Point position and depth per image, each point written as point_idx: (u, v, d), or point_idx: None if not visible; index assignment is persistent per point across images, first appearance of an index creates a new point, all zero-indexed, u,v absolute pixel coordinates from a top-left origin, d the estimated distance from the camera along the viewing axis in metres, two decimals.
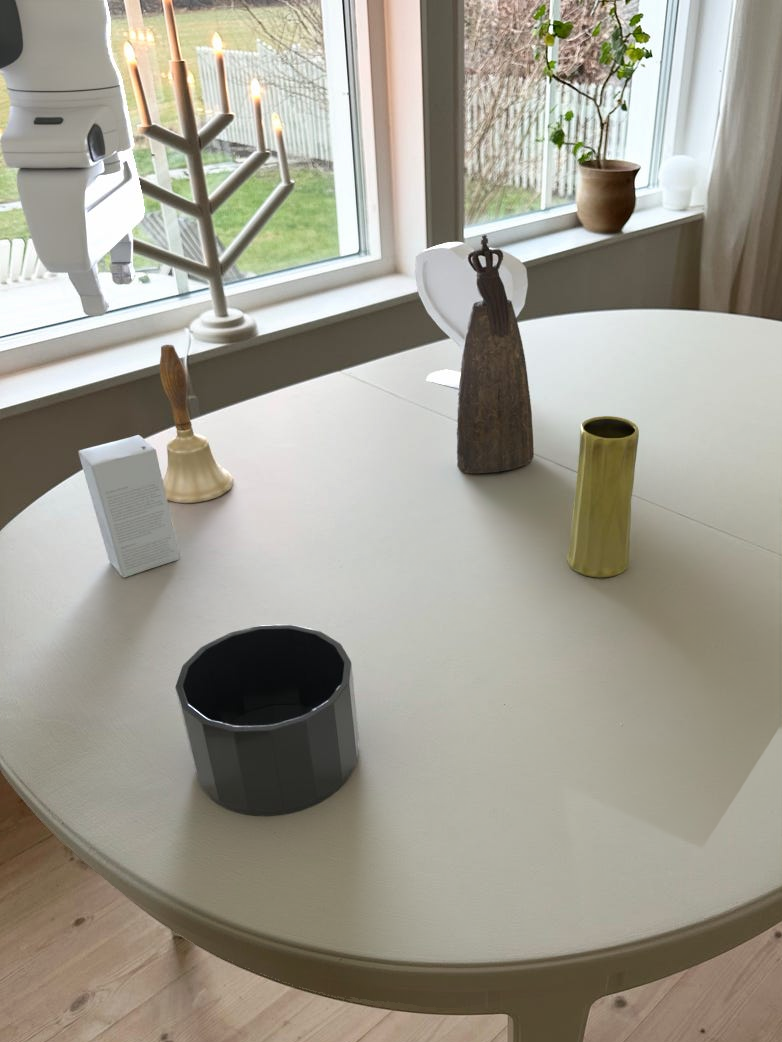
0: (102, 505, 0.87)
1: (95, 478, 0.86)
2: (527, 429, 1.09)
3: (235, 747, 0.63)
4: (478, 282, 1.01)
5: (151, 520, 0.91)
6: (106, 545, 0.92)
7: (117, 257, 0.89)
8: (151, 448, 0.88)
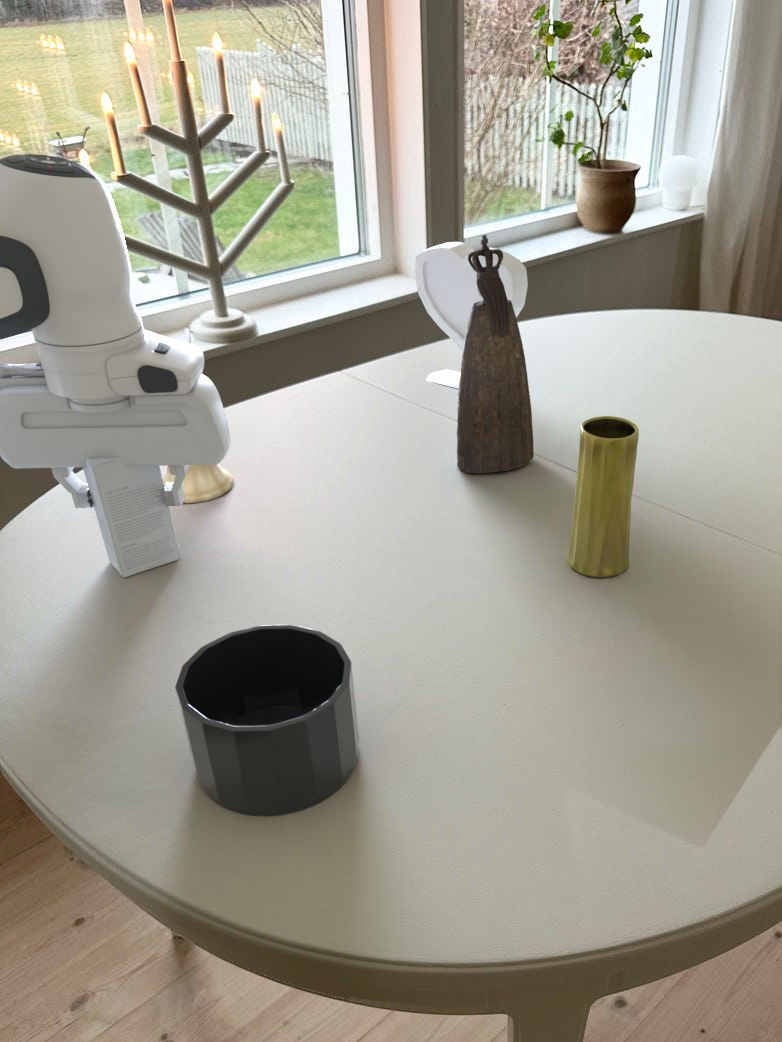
0: (102, 505, 0.87)
1: (95, 478, 0.86)
2: (527, 429, 1.09)
3: (235, 747, 0.63)
4: (478, 282, 1.01)
5: (152, 520, 0.91)
6: (106, 545, 0.92)
7: (76, 486, 0.89)
8: None
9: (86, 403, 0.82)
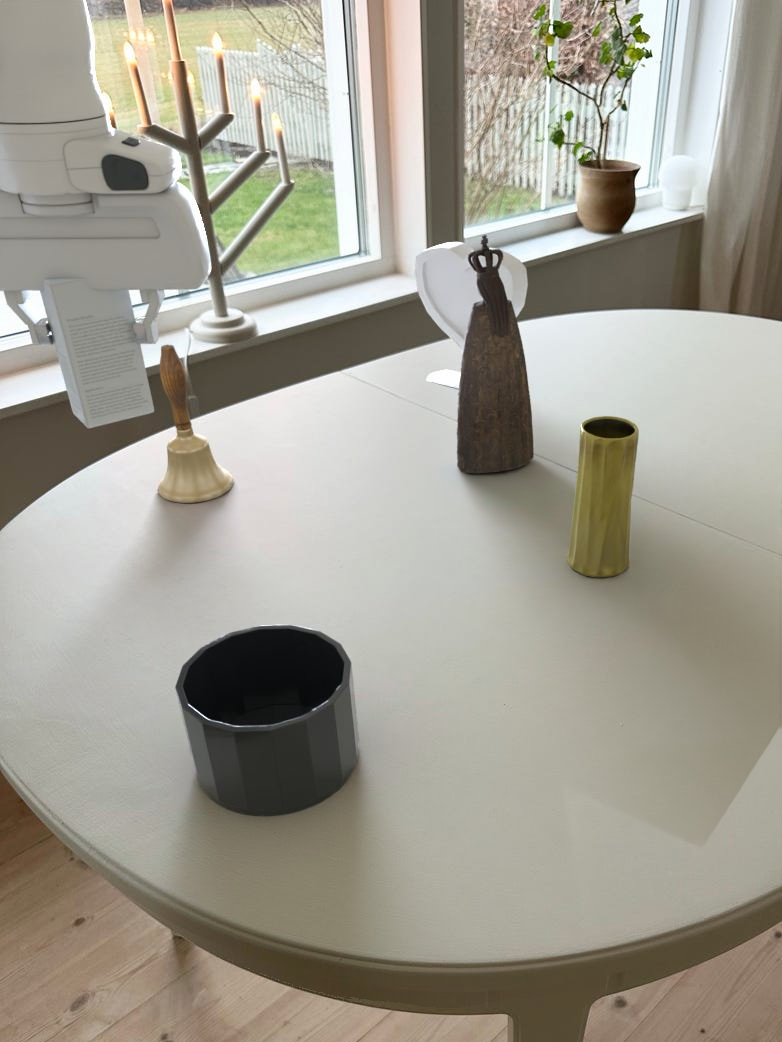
0: (63, 336, 0.76)
1: (54, 300, 0.74)
2: (527, 429, 1.09)
3: (235, 747, 0.63)
4: (478, 282, 1.01)
5: (121, 360, 0.79)
6: (69, 392, 0.81)
7: (33, 317, 0.78)
8: None
9: (42, 203, 0.70)
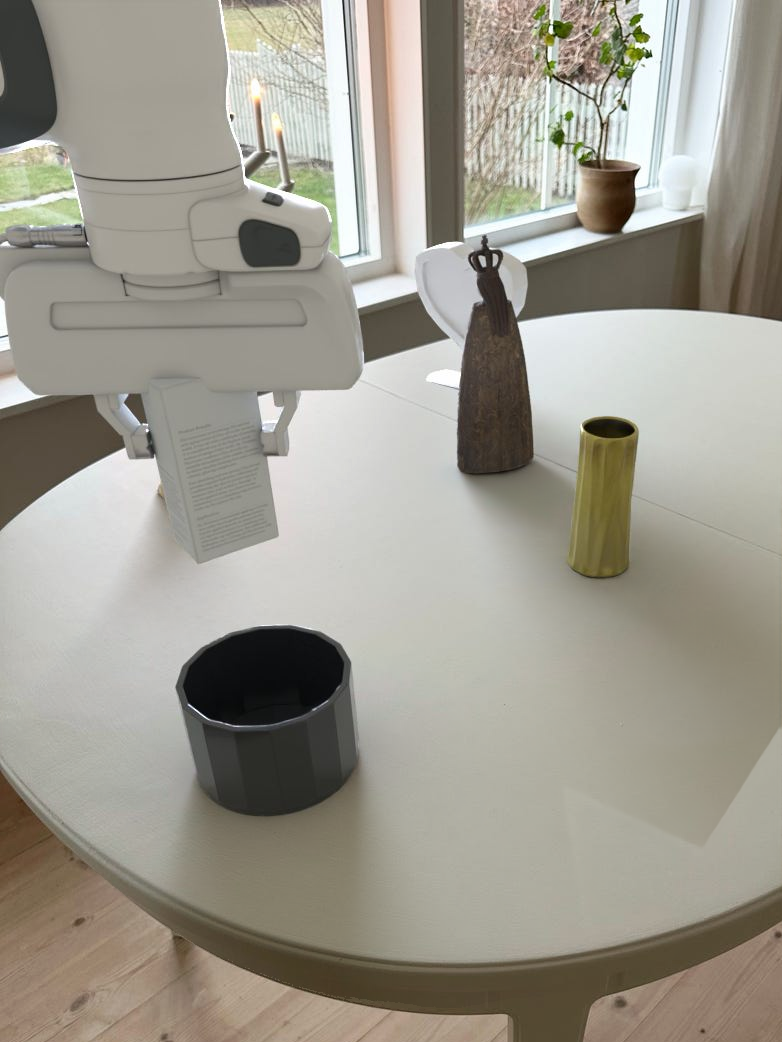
0: (172, 452, 0.57)
1: (163, 408, 0.55)
2: (527, 429, 1.09)
3: (235, 747, 0.63)
4: (478, 282, 1.01)
5: (242, 477, 0.61)
6: (172, 516, 0.62)
7: (130, 425, 0.59)
8: None
9: (154, 285, 0.52)
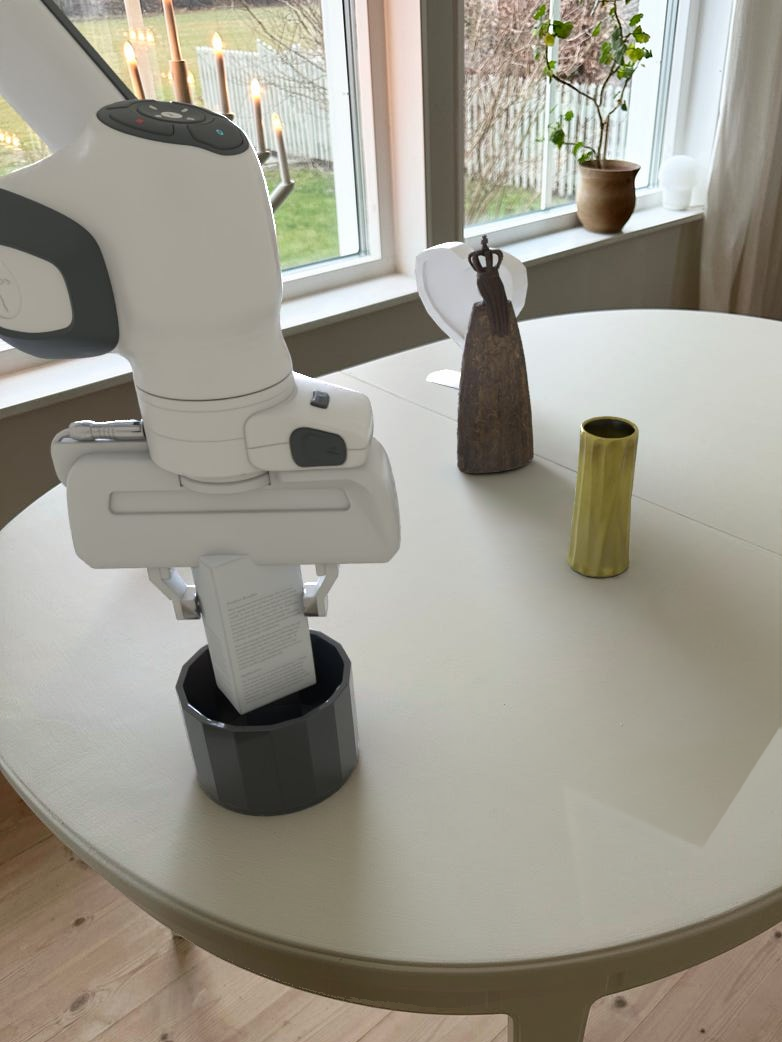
0: (220, 621, 0.61)
1: (213, 584, 0.59)
2: (527, 429, 1.09)
3: (235, 747, 0.63)
4: (478, 282, 1.01)
5: (284, 636, 0.64)
6: (217, 668, 0.66)
7: (179, 590, 0.62)
8: None
9: (209, 481, 0.55)
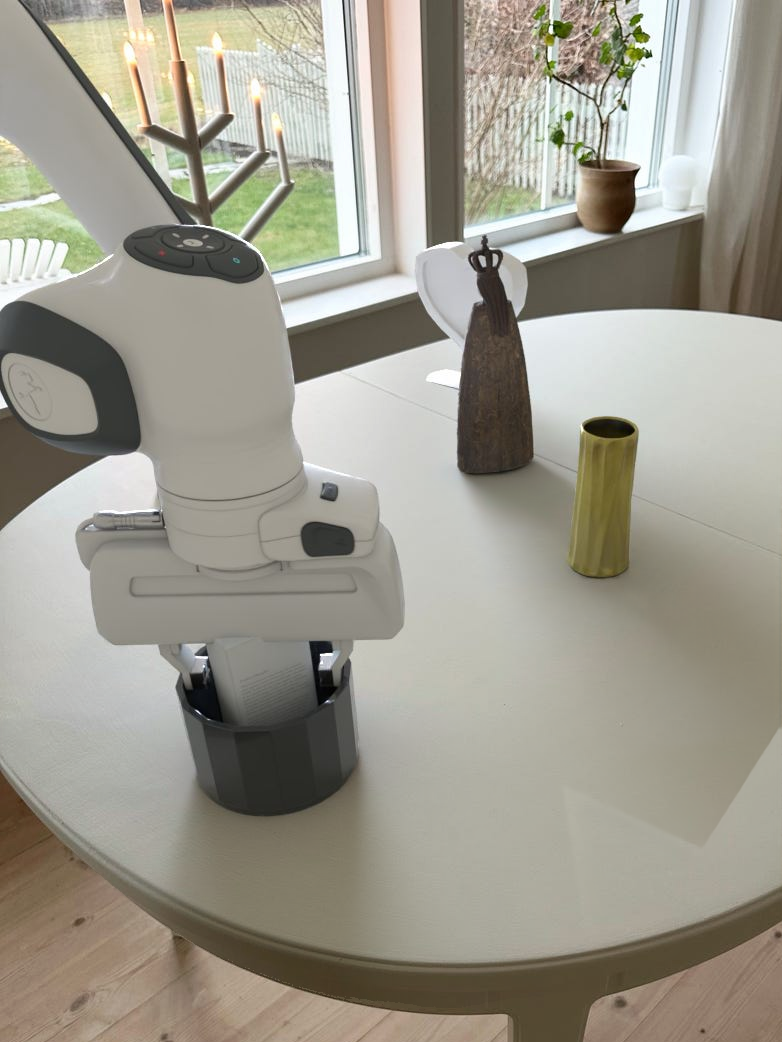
0: (234, 696, 0.64)
1: (227, 664, 0.63)
2: (527, 429, 1.09)
3: (235, 747, 0.63)
4: (478, 282, 1.01)
5: (294, 707, 0.68)
6: None
7: (188, 662, 0.66)
8: None
9: (224, 569, 0.58)
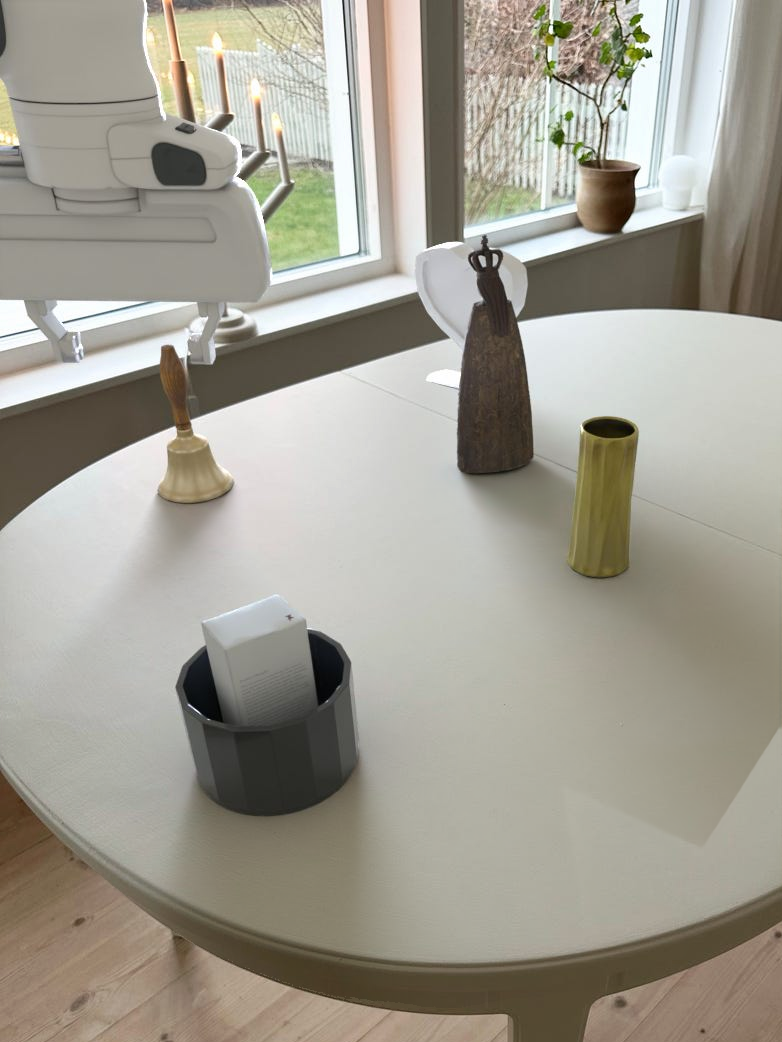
0: (234, 696, 0.64)
1: (227, 664, 0.63)
2: (527, 429, 1.09)
3: (235, 747, 0.63)
4: (478, 282, 1.01)
5: (294, 707, 0.68)
6: None
7: (58, 331, 0.67)
8: (300, 618, 0.65)
9: (80, 199, 0.59)
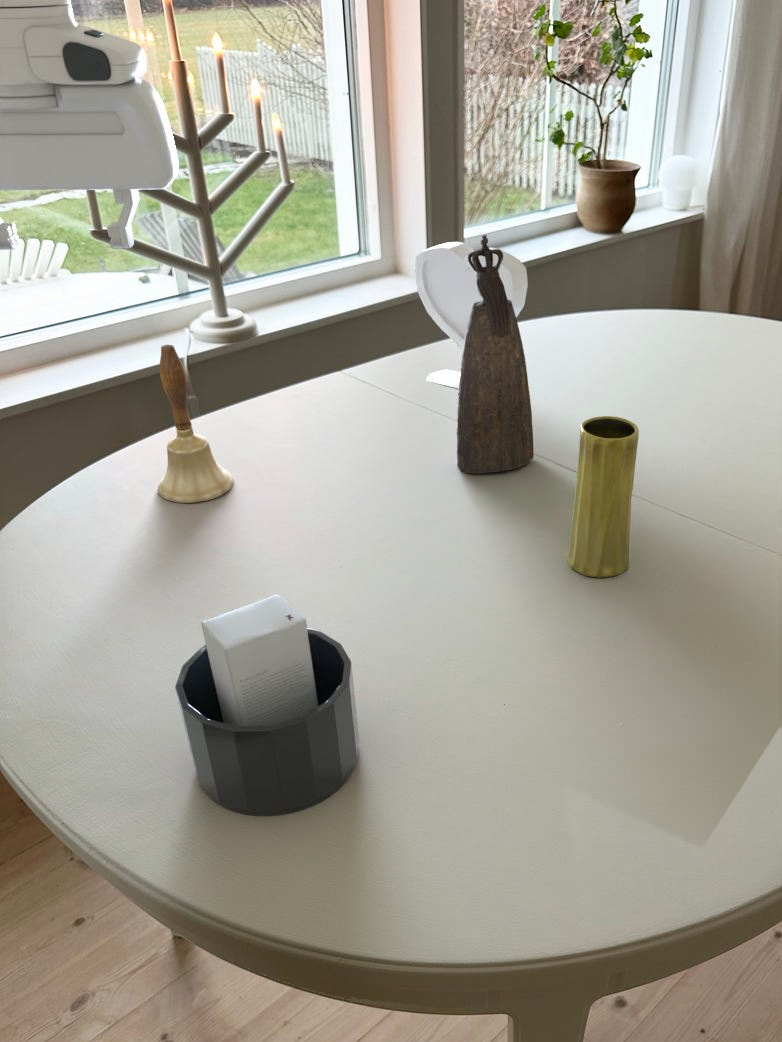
0: (234, 696, 0.64)
1: (227, 664, 0.63)
2: (527, 429, 1.09)
3: (235, 747, 0.63)
4: (478, 282, 1.01)
5: (294, 707, 0.68)
6: None
7: None
8: (300, 618, 0.65)
9: (4, 95, 0.70)
